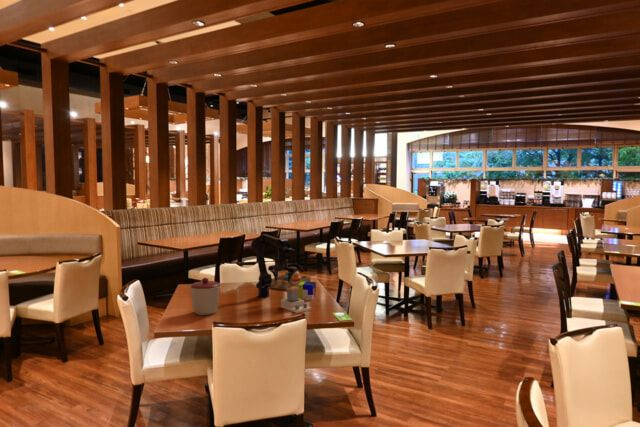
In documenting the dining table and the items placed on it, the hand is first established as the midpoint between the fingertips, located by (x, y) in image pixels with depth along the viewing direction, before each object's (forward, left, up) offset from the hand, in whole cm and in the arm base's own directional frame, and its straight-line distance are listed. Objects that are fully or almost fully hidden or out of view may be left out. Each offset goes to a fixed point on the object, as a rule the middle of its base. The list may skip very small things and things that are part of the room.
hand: (282, 281), depth 287 cm
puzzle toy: (+10, +16, -13) cm, 23 cm away
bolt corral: (-16, +42, -13) cm, 47 cm away
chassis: (+15, -10, -13) cm, 22 cm away
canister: (-29, -42, -13) cm, 53 cm away
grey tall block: (+12, -9, -12) cm, 19 cm away
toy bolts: (-14, +46, -13) cm, 49 cm away
